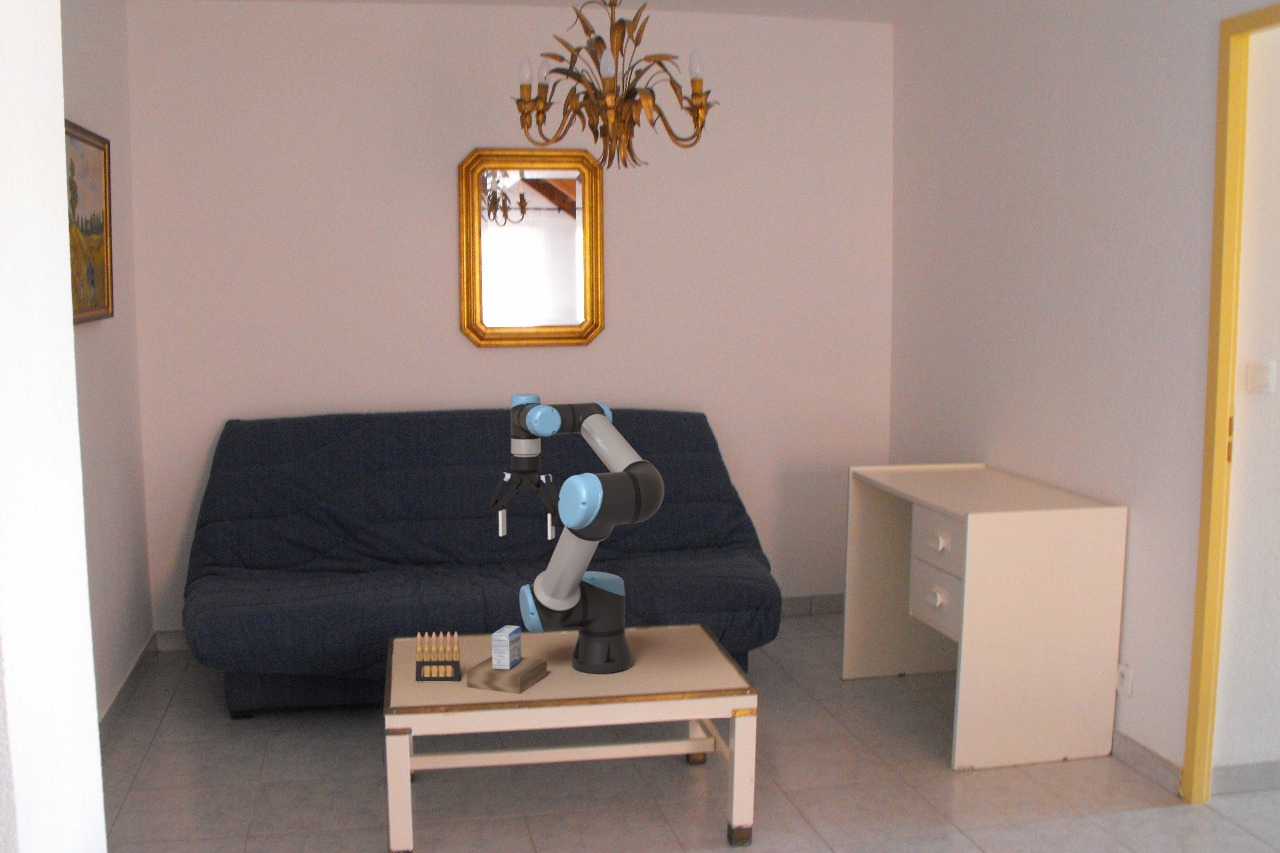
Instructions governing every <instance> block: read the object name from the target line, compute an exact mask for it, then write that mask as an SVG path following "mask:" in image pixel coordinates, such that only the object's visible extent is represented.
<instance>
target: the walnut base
mask: <svg viewBox="0 0 1280 853" xmlns="http://www.w3.org/2000/svg"><path fill="white" fill-rule="evenodd" d="M547 664H548V663H547V659H543V658H531V657H525V656H524V657H522V656H521V661H520V662H519V663H517V664H516V665H515V666H514V667H513V668H511V669H510V670H502V669H493V663H492V655H491V656H490V657H488V658H486V659H485V660H483V661H481V662H478V664H475V665H474V666H471V667H470V668H469V669H467V670H466V687H467V688H473V689H479V690H481V689H482V690H487V691H488V690H489V691H495V692H503V693H512V694H519V695H520V694H522V693H523V692H526V691H527V690H528V689H530V688H531V687H533V686H534V685H536V684H537V683H539V682H540V681H542V680H543V679H545V678H546V677H547V675H548V672H547V670H548V667H547ZM544 677H545V678H544ZM541 679H542V680H541ZM538 681H539V682H538ZM535 683H536V684H535ZM532 685H533V686H532ZM529 687H530V688H529Z"/></svg>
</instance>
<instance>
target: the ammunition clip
mask: <svg viewBox="0 0 1280 853" xmlns="http://www.w3.org/2000/svg"><path fill="white" fill-rule="evenodd" d="M451 636H452V635H451V632H450V631H447V634H446V637H445V638H446V640H445V638H444V633H443V631H440V632H439V637H438V640H437V635H436V632H435V631H433V632H432V636H431V646H430V636H429V633H428V632H427V631H425V634H424V639H423V641H422V635H421V632H420V631H418V632H417V635H416V645H415V646H416V648H415V681H422V682H421V683H424V682H423V681H452V682H460V681H461V680H462V672H461V671H462V670H461V656H460V655H461V654H460V653H461V652H460V643H459V641H460V640H459V635H458V632H457V631H455V632H454V635H453V646H452V637H451ZM437 641H438V642H437ZM445 641H446V642H445Z"/></svg>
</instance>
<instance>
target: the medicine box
mask: <svg viewBox="0 0 1280 853" xmlns="http://www.w3.org/2000/svg"><path fill="white" fill-rule="evenodd" d="M521 633H522V627H521V626H519V625H503V626H502V627H501V628H499V629H498V630H496V631H494V632H493V633H491V656H492V663H493V669H502V670H510V669H511V668H513V667H514V666H515V665H516V664H517V663H519V662H520V661H521V657H522V634H521Z"/></svg>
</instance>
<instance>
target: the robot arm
mask: <svg viewBox="0 0 1280 853" xmlns="http://www.w3.org/2000/svg"><path fill="white" fill-rule="evenodd" d="M509 411H510V453H511V454H512V456H511V459H510V461H511V463H510V464H511V473H509V472H508V471H505V472H501V473H500V474H499V481H498V484H497V486H496V488H495V490H494V493H492V494H493V495H492V496H491V499H490V501H489V503H488V507H489V508H491V509H494V511H495V522H496V523H498V537H504V536H506V535H507V509H505V507H506V505H507V504H508V503H509V501H510V500H511V499H512V498H513V497H514V496H515V495H516V492H518V491H519V492H524V491H526V492H529V493H530V492H531V493H532V492H533V493H535V494H536V496H537V497H538V498H539V499H540V501H541V502H542V503H543V504H544V506H545V507H546V508H547V510H548V511H549V513H547V540H552V539H555V538H556V526H558V524H559V518H560V520H561V522H562V524H563V525H564V526H563V530H562V532H561V534H560V537H559V539H558V541H557V544H556V545H555V548H554V550H553V553H552V554H551V555H552V556H551V558H550V560H549V563H548V565H547V568H546V569H545V570H543V571H542V572H540V573H539V574H538V575H537V576H536V578H535V579H534V582H533V583H532V584H529V583H527V584H525V585H522V586H521V588H520V589H519V594H518V596H519V608H520V609H519V610H520V614H521V618H522V620H523V624H524V626H525V628H526V629H527V630H528V632H530V633H542V634H543V633H548V632H555V631H560V630H569V629H570V630H571V629H577V628H578V630H577V631H578V632H577V633H578V634H577V638H576V642H575V645H574V648H573V651H572V654H571V667H572V668H573V669H575V670H576V671H578V672H583V673H588V674H612V673H611V672H614V673H618V672H617V671H619V672H622V671H621V670H623V671H625V670H624V669H626V668H628V667H630V666H631V665H633V655H632V652H631V649H630V645H629V643H628V639H627V637H626V628H625V627H626V626H625V625H626V617H625V616H626V606H625V605H626V591H625V590H626V589H625V582H624V580H623V578H622V577H621V576H619V575H616V574H615V573H614V574H613V573H610V572H603V571H595V570H594V571H593V570H592V571H590V570H589V571H587V569H588V568H589V565H590V563H591V561H592V559H593V557H594V554H595V552H596V550H597V549H598V545H599V543H600V542H602V541H604V540H606V539H607V538H609V536H610V535H611V534H612V531H613V530H614V527H615V526H621V525H631V524H633V525H634V524H639V523H643V522H645V521H647V520H649V519H650V518H651V517H653V516H654V515H655V514H656V513H657V511H658V510H659V509H660V507H661V505H662V503H663V500H664V496H665V483H664V480H663V478H662V475H661V473H660V472H659V470H658V469H657V468H656V466H655V465H654V464H653V463H652V462H650V461H648V460H646V459H643V458H642V457H641V456H640V454H638V452H636V450H635V449H634V448H633V447H632V446H631V444H630V443H629V442H628V441H627V440H626V439H625V438H624V436H623V435H622V434H621V433H620V432H619V431H618V430H617V428H616V427H615V426H614V425H613V412H612V411H611V407H610V405H608V404H607V403H606V402H581V403H553V404H542V403H541V397H540V395H539V394H534V393H516V394H513V395H512V396H511V397H510V408H509ZM570 434H571V435H572V434H573V435H575V434H580V435H581V436H582V438H584V440H585V442H587V444H588V445H589V446H590V447H591V449H592V451H594V453H595V454H596V455H597V456H598V458H599V459H600V461H601V462H602V463H603V464H604V465H605V466H606V468H607V469H608V471H609V472H600V473H599V472H598V473H590V472H585V473H581V474H575V475H571V476H570V477H568V478H567V479H566V480H564V482H563V484H562V486H561V488H560V490H559V492H558V489H557V487H556V485H555V482H554V477H553V474H552V473H549V474H545V475H544V474H543V475H542V473H541V471H542V456H541V455H540V454H541V452H542V451H541V450H542V447H541V446H542V445H541V443H542V442H541V437H542V438H543V437H551V436H554V435H570ZM510 480H511V482H512V485H511V486H510V487H509V490H508V491H507V492H506V493H505V494H504V496H503V497H502V495H503V493H504V491H505V488H506V487H507V484H508V482H509V481H510ZM541 482H542V483H544V484H545V487H546V489H547V491H548V493H549V495H548V494H547V492H546V491H545V489H544V487H543V486H542V485H541ZM501 497H502V498H501ZM500 498H501V499H500ZM631 667H632V666H631ZM631 667H630V668H631ZM628 669H629V668H628ZM626 670H627V669H626Z"/></svg>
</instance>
